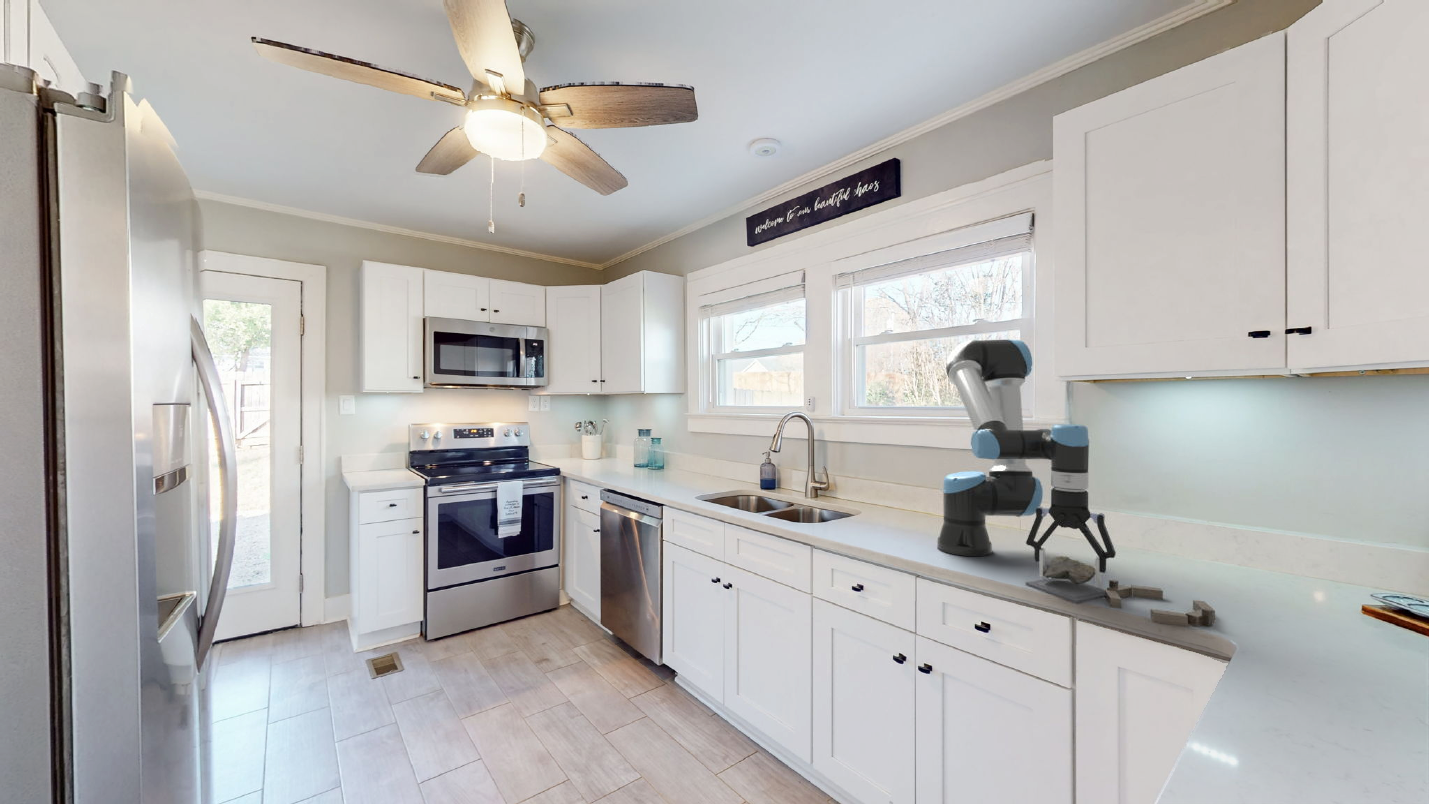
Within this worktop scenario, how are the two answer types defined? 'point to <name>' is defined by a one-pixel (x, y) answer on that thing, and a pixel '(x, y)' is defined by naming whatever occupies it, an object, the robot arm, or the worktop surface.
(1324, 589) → the worktop surface
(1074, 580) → the fossilized seashell
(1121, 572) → the worktop surface
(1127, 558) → the worktop surface
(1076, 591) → the mat
